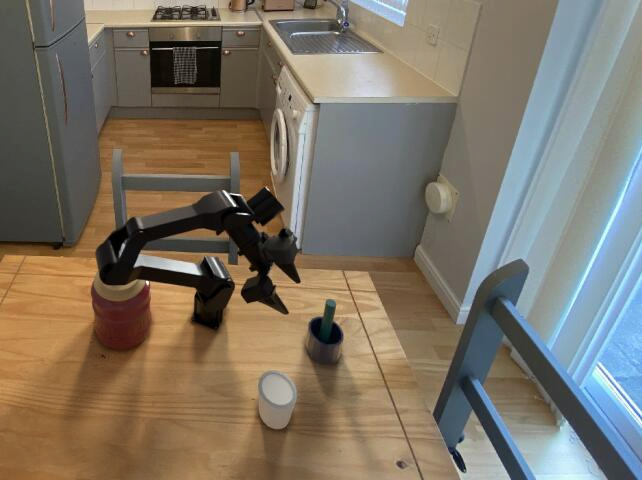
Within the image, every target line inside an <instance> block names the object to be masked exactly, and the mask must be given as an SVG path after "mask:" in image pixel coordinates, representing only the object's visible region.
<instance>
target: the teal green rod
mask: <svg viewBox="0 0 642 480" xmlns="http://www.w3.org/2000/svg"><path fill="white" fill-rule="evenodd" d="M336 309H337V302H336V301H335V300H334V299H332V298H327V299H326V300H325V303H324V309H323V315H322V317H323V319H322V325H321V330H320V336H319V341H320V342H322V343H325V344H329V339H330V334H331V329H332V324H333V321H334V318H335V314H336Z"/></svg>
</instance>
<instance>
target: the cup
mask: <svg viewBox="0 0 642 480" xmlns="http://www.w3.org/2000/svg"><path fill="white" fill-rule="evenodd" d="M322 319H323V316H315V317H313V318H311V319H310V321H309V322H308V326H307V327H308V328H307V331H306V338H305V343H304V344H305V349H306V352H307V353H308V355H309V356H310V357H311V358H312V359H313V361H316V362H317V363H320V364H322V365H333V364H336V363H337V362H338V360H339V359H340V357H341V352H342V347H343V343H344V335H345V334H344V332H343V329H342V327H341V326H340V325H339V324H338V322H336V321H335V320H333V324H332V329H331V334H330V339H329V344H325V343H322V342H320V341H319V336H320V330H321V325H322Z"/></svg>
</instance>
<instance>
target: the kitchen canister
mask: <svg viewBox="0 0 642 480" xmlns="http://www.w3.org/2000/svg"><path fill="white" fill-rule="evenodd" d="M90 296H91V306H92V307H91V308H92V310H93V325H94V326H93V327H94V331H95V334H96V336H97V338H98V339H99V341H100V342H101V343H102V344H103V345H104V346H105V347H107V348H109V349H111V350H117V351H118V350H119V351H125V350H129V349H133V348H134V347H137V346H138V345H139V344H141V343H142V342H143V341H144V340H145V339H146V338H147V336H148V334H149V332H150V329H151V325H152V311H151V299H152V296H151V281H145V280H135V281H133V282H131V283H129V284H127V285H112V286H111V285H105V284H103V283H102V281H101V279H100V277H99V272H98V270H97V271H96V272H95V275H94V278H93V281H92V283H91V286H90Z"/></svg>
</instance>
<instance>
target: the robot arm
mask: <svg viewBox="0 0 642 480" xmlns="http://www.w3.org/2000/svg"><path fill="white" fill-rule="evenodd" d="M284 211H286V208H285V207H284V206H283V204H282V203H281V202H280V201H279V200H278V198H277V197H276V196H275V195H274V194H273V193H272V191H270V189H269V188H268V187H267V186H264V187H262V188H260V189H259V191H258V192H256V194H254V195H253V196H252V197H250V198H249V199H248V200H247V201H246V199H245V198H244V196H243V195H242V194H238V193H231V192H228V191H226V190H224V189H218V190H215V191H212V192H209V193H208V194H205V195H203V196H202V197H201V198H199V200H197V201H196V202H195V203H192V204H189V205H185V206H181V207H178V208H173V209H170V210H165V211H161V212H156V213H153V214H149V215H145V216H141V217H140V216H138V215H137V216H132V217H129V219H128V220H127V221H126V222H125V223H124V225H122V226H121V227H119V228H117V229H114V230H113V231H112V232H110V234H108V236H107V237H106V238H105V240H104V241H103V242H102V243H101V244H99V245H98V246H97V247H96V249H95V252H94V256H95V261H96V266H97V267H96V268H97V271H98V272H99V277H100V279H101V281H102V283H103V284H105V285H111V286H112V285H127V284H129V283H131V282H133V281H135V280H145V281H150V283H157V284H166V285H170V286H171V285H172V286H179V287H186V288H192V289H195V292H194V296H193V313H192V315H191V317H190V320H191V322H193V323H196V324H198V325H201V326H203V327H205V328H209V329H211V330H214V331H218V330H219V328H220V326H221V324H222V323H223V322H224V319H225V317H226V314H227V306H228V305H229V303H230V300H231V298H232V296H233V293H234V291H235V289H236V283H235V281H234V279H233V278H232V276H231V274H230V272H229V270H228V268H227V266H226V265H225V263H224V261H222V260H221V259H220V257H219V256H211V255H210V256H209V255H207V254H206V255H204V256H203V259H202V260H200V261H198V262H197V263H195V262H188V261H183V260H177V259H171V258H165V257H160V256H153V255H148V254H143V253H141V251H142V250H143V248H145V246H146V245H147V243H150V242H154V241H157V240H161V239H165V238H169V237H173V236H177V235H180V234H185V233H189V232H192V231H196V230H202V229H204V230H208V231H212V232H214V233H215V235H216V236H220V235H221V234H223V232H225V233H226V235H227V236H228V237H229V238H230V239H231V241H232V243H234V245H235V246H236V247H237V249H238V250H237V252H236V255H238V257H239V258H240V257H242V256H243V257H244V258H245V259H246V261H247V262H248V263H249V264H250V265H249V267H248V270H249V271H250V272H251V273H254V272H256V273H257V274H256V275H254V276H251V277H249V278H246V280H245V282H244V283H243V285H242V287H241V289H240V296H241V298H242V299H243V301H244V302H245V304H252V303H256V302H258V303H260V304H263V305H265V306H267V307H269V308H270V309H273V310H274V311H277V312H278V313H281V314H282V315H284V316H287V315H289V313H290V312H289V309H288V308H287V306H286V305H285V303H284V301H283V300H282V299H281V297H280V296H279V295H278V293H277V284H273V280H272V278H271V277H270V276H269V275H270V274H271V271H272V269H273V266H274V265H275V266H276V267H278V269H279V270H280V271H282V272H283V273H284V274H285V276H287V277H288V278H289V279H290V280H292V281H293V282H294V283H295V284H297V285H298V284H301V282H302V280H301V277H300V275H299V272H298V270H297V267H296V264H295V260H296V257H297V254H298V253H299V248H298V246H297V241H298V237H297V236H295V233H294V232H293V231H292V230H291V229H290V228H289V227H288V226H282V227H281V228H280V230H279V232H278V233H277V234H275V235H272V236H270V235H269V234H268V233H267V232H265V231H264V230H263V231H262V232H260V231H259V230H258V228H257V227H256V226H255V224H254V223H256V225H257V226H258V225H259V224H260V225H261V227H262V228H263V227H265V226H266V225H267V224H269V223H270V222H271V221H273V220H274V219H275V218H276V217H278V216H279V215H280V214H282V213H283V212H284ZM253 222H254V223H253ZM125 241H126V242H125ZM124 242H125V243H124Z"/></svg>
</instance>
